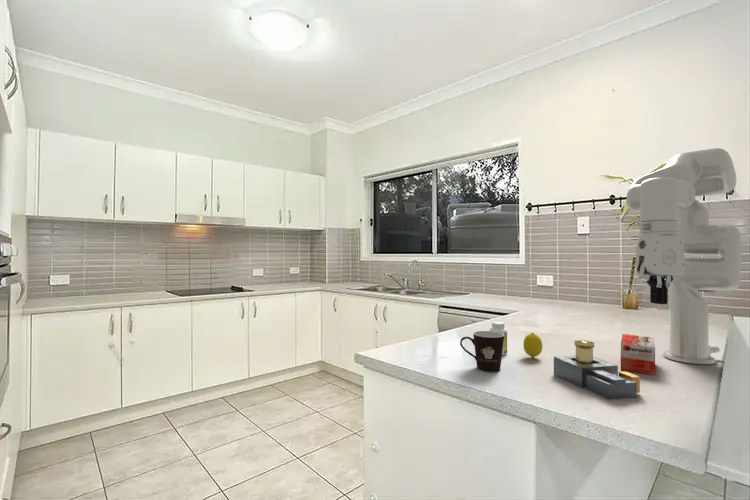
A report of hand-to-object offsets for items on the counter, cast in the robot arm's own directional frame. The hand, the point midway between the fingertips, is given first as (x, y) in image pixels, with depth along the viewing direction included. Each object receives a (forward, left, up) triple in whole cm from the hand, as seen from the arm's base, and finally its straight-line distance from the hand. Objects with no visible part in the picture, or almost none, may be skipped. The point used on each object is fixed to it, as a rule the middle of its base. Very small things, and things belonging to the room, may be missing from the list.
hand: (658, 303), depth 94 cm
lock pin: (+12, 0, -21) cm, 24 cm away
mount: (+13, -6, -21) cm, 26 cm away
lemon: (+14, -30, -21) cm, 40 cm away
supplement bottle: (+22, -37, -21) cm, 48 cm away
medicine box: (-11, -17, -22) cm, 29 cm away
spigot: (+13, -10, -21) cm, 27 cm away
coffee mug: (+34, -24, -21) cm, 47 cm away
